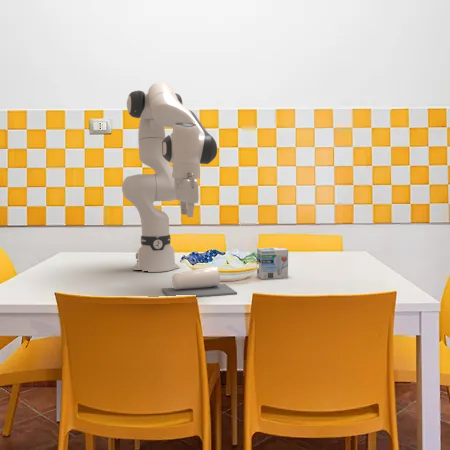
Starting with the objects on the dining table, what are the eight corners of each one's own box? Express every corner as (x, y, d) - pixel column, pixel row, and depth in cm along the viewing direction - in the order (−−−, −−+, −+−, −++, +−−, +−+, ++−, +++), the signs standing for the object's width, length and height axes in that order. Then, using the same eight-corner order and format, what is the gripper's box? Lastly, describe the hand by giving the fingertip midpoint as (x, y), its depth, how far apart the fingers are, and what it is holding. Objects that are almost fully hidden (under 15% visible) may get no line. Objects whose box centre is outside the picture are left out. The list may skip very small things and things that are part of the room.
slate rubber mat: (162, 290, 175) (161, 288, 175) (225, 285, 181) (225, 283, 181) (169, 299, 161) (169, 297, 161) (236, 294, 167) (236, 292, 167)
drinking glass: (173, 269, 170) (216, 262, 175) (170, 276, 176) (212, 270, 180) (177, 288, 167) (221, 281, 172) (174, 295, 173) (216, 288, 178)
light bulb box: (261, 279, 191) (260, 250, 190) (256, 276, 197) (256, 248, 196) (289, 278, 193) (288, 249, 192) (283, 274, 199) (283, 246, 198)
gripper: (203, 173, 159) (203, 218, 160) (189, 172, 178) (190, 213, 180) (182, 173, 157) (183, 219, 159) (171, 172, 177) (172, 213, 178)
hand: (187, 215), depth 170 cm, fingers open, 8 cm apart
